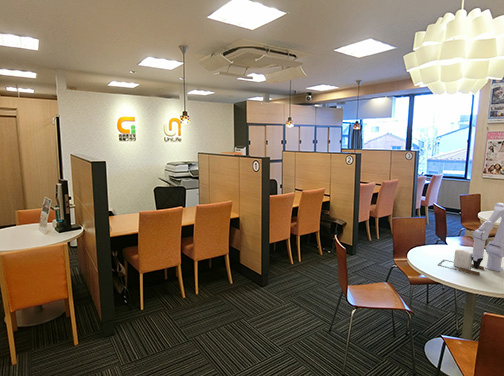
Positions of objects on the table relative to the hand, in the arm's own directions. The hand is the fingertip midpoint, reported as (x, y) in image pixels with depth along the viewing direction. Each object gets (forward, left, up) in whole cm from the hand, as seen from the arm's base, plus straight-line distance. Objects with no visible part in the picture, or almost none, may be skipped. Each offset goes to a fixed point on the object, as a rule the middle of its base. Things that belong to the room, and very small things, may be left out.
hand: (476, 268), depth 200 cm
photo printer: (0, -7, -2) cm, 8 cm away
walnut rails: (0, -2, -2) cm, 3 cm away
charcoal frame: (0, -14, -2) cm, 15 cm away
